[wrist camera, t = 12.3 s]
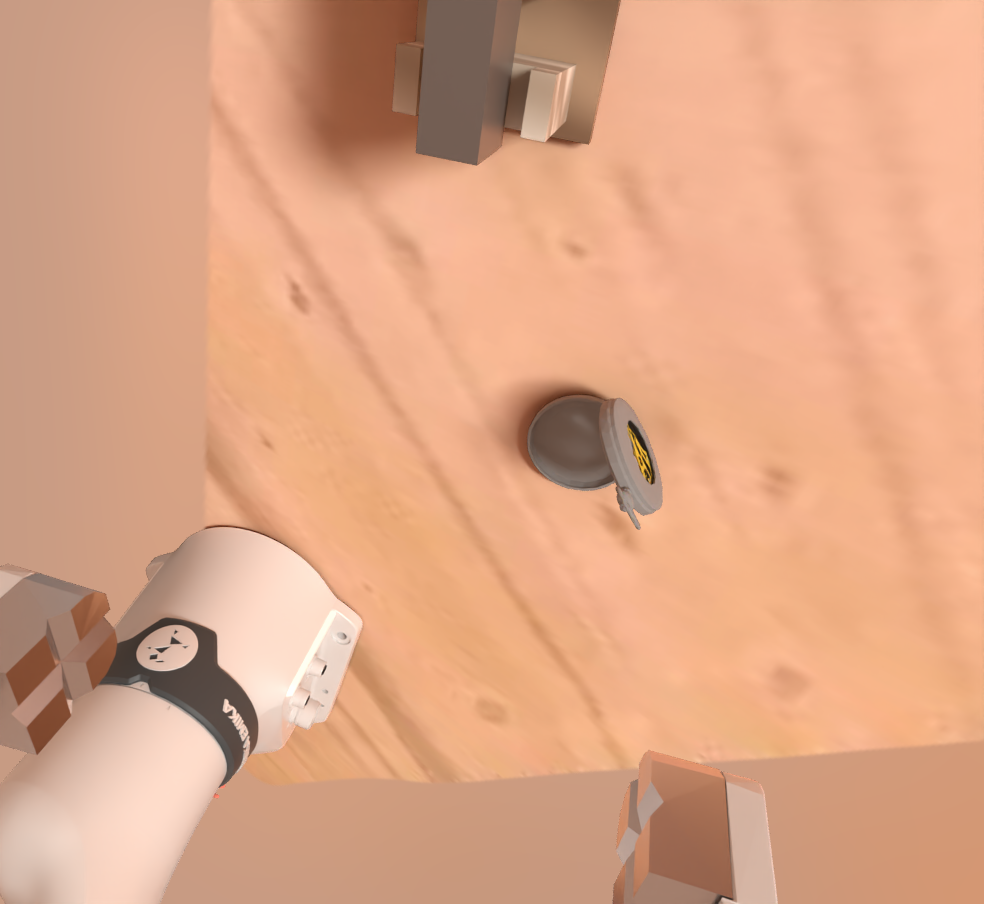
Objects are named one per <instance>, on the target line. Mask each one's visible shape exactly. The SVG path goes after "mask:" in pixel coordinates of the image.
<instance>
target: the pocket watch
mask: <svg viewBox="0 0 984 904" xmlns="http://www.w3.org/2000/svg"><path fill="white" fill-rule="evenodd" d="M527 446H528V452H529V455H530V457H531V459H532V461H533V463H534V465H535V466H536V468H537V469H538V470H539V471H540V473H542V474H543V475H544V476H545V477H546V478H547V479H549V480H550V481H552V482H554V483H555V484H557V485H560V486H562V487H565V488H568V489H574V490H582V491H589V490H597V489H601V488H604V487H607V486H609V485H611V484H613V483H614V482H615V483H616V485H617V487H616V491H617V493H618V494H617V501H618V503H619V505H620V510H621V511H624V512H626V511H627V513H628V515H629V516H630V518H631V520H632V522H633V523H634V525H635V527H636V528H637V529H638V530H640V528H641V527H640V524H639V522H638V520H637V518H636V516H635V514H634V512H633V509H635V510H636V511H637V512H638V513H640V514H641V515H643V516H644V515H648V514H652V513H654V512H655V511H656V510H658V509H660V508H661V506H662V483H661V477H660V473H659V469H658V466H657V462H656V458H655V456H654V453H653V450H652V447H651V444H650V442H649V439H648V436H647V435H646V433H645V431H644V429H643V427H642V425H641V423H640V421H639V419H638V417H637V416H636V414H635V412H634V411H633V409H632V408H631V407H630V406H629V405H628V403H627V402H626V401H624V400H623V399H621V398H617V399H610V400H607V401H605V400H603V399H601V398H597V397H593V396H590V395H570V396H564V397H561V398H558V399H556V400H554V401H552V402H550V403H548V404H547V405H545V406H544V407H543V408H542V409H541V410H540V411H539V412H538V413H537V415H536V416H535V418H534V420H533V422H532V424H531V426H530V427H529V431H528V438H527Z"/></svg>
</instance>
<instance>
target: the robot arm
mask: <svg viewBox="0 0 984 904" xmlns="http://www.w3.org/2000/svg"><path fill="white" fill-rule="evenodd" d="M146 574H147V577H148V579H149V582H148V583H147V585H146V586H145V587H144V588H143V590H142V591H141V592H140V594H139V595H138V596H137V598H136V599H135V600H134V601H133V603H132V604H131V605H130V607H129V608H128V609H127V611H126V612H125V613H124V615H123V616H122V617H121V619H120V620H119V622H118V623H117V624H116V625H115V627H114V628H113V627H112V626H111V625H110V623H109V622H108V621H107V620H106V619H105V618H104V617H103V616H104V615H105V614H106V613H107V612H108V611H109V610H110V607H109V603H108V600H107V597H106V594H105V593H102V592H98V591H95V590H92V589H88V588H85V587H82V586H79V585H76V584H72V583H69V582H66V581H62V580H59V579H56V578H53V577H49V576H46V575H43V574H41V573H38V572H34V571H31V570H27V569H24V568H21V567H17V566H14V565H10V564H6V565H3V566H0V745H3V746H7V747H10V748H13V749H17V750H20V751H24V752H27V754H26V755H25V756H24V757H23V759H22V760H21V761H20V762H19V763H18V764H17V765H16V766H15V768H14V769H13V770H12V771H11V772H10V773H9V775H8V776H7V777H6V778H5V779H4V780H3V781H2V782H1V784H0V895H1V897H2V899H3V901H4V903H5V904H160V903H161V900H162V898H163V895H164V893H165V890H166V888H167V885H168V883H169V881H170V879H171V877H172V875H173V873H174V870H175V868H176V866H177V864H178V862H179V860H180V858H181V856H182V854H183V852H184V850H185V848H186V846H187V844H188V842H189V840H190V838H191V836H192V834H193V832H194V831H195V829H196V827H197V825H198V823H199V821H200V819H201V818H202V816H203V814H204V812H205V810H206V809H207V807H208V805H209V803H210V802H211V800H212V798H213V797H215V798H219V795H217V794H216V791H217V789H218V788H224V787H225V784H226V783H227V782H228V781H229V780H230V779H231V778H232V776H233V775H234V774H235V773H237V772H238V771H239V770H240V769H241V768H242V766H243V765H244V764H245V762H246V760H247V758H248V757H249V756H250V755H251V754H261V753H270V752H274V751H277V750H279V749H281V748H282V747H283V746H284V745H285V744H286V742H287V740H288V739H289V737H290V735H291V733H292V732H293V730H294V728H295V726H296V725H297V726H299V727H301V728H304V729H306V730H307V729H309V730H310V728H311V727H312V725H313V723H320V722H324V721H325V720H326V719H327V717H328V716H329V714H330V713H331V711H332V708H333V706H334V703H335V700H336V698H337V695H338V692H339V689H340V687H341V684H342V681H343V678H344V676H345V673H346V670H347V668H348V665H349V662H350V659H351V657H352V654H353V651H354V648H355V646H356V643H357V640H358V638H359V635H360V632H361V629H362V626H363V623H362V620H361V618H360V617H359V616H358V615H357V614H356V613H355V612H354V611H353V610H352V609H350V608H349V607H348V606H347V605H345V604H344V603H343V602H341V601H340V600H339V599H337V598H336V597H335V596H334V594H333V593H332V592H331V591H330V589H329V588H328V586H327V585H326V584H325V582H324V581H323V579H322V578H321V577H320V575H319V574H318V573H317V572H316V571H315V570H314V569H313V568H312V567H311V566H310V565H309V564H308V563H307V562H306V561H305V560H304V559H303V558H301V557H300V556H299V555H298V554H296V553H295V552H294V551H292V550H291V549H289V548H288V547H286V546H284V545H283V544H281V543H279V542H277V541H275V540H273V539H271V538H269V537H266V536H264V535H261V534H259V533H256V532H252V531H249V530H244V529H239V528H232V527H215V528H209V529H204V530H201V531H199V532H196V533H195V534H193V535H191V536H190V537H188V538H187V539H186V540H185V541H184V542H183V543H182V544H181V546H180V547H179V548H178V549H177V550H176V551H174V552H172V553H168V554H164V555H161V556H158V557H156V558H154V559H153V560H152V561H151V563H150V564H149V565H148V567H147V568H146ZM616 851H617V853H618V855H619V857H620V859H621V861H622V863H623V865H624V866H623V868H622V869H621V871H620V873H619V875H618V877H617V879H616V881H615V883H614V888H613V889H614V890H613V904H778V902H777V894H776V885H775V877H774V869H773V861H772V852H771V844H770V837H769V828H768V820H767V811H766V804H765V796H764V791H763V789H762V787H761V785H760V783H759V782H757V781H755V780H752V779H747V778H744V777H740V776H737V775H733V774H729V773H725V772H722V771H719V769H716V768H712V767H709V766H705V765H701V764H698V763H694V762H690V761H687V760H683V759H679V758H676V757H672V756H668V755H665V754H661V753H657V752H654V751H650V750H648V751H647V752H646V753H644V755H643V757H642V759H641V761H640V763H639V778H638V779H637V780H635V781H632V782H631V783H630V785H629V787H628V790H627V792H626V794H625V797H624V801H623V805H622V809H621V813H620V819H619V825H618V833H617V846H616Z"/></svg>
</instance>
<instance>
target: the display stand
mask: <svg viewBox="0 0 984 904" xmlns="http://www.w3.org/2000/svg"><path fill="white" fill-rule="evenodd" d="M427 1H428V0H418V14H417V27H416V40H415V42H408V43H399V44H396V58H395V74H394V91H393V107H392V111H394V112H399V113H403V114H408V115H413V116H417V115H419V105H420V92H421V79H422V66H423V53H424V40H425V27H426V14H427ZM620 2H621V0H522V5H521V12H520V19H519V26H518V33H517V40H516V47H515V54H514V61H513V68H512V75H511V82H510V90H509V97H508V104H507V111H506V118H505V125H504V127H505V128H510V129H515V130H519V131H521V138H526V139H531V140H536V141H541V142H545V141H546V140H547V139H548V138H549V137H554V138H559V139H564V140H569V141H574V142H579V143H584V144H589V143H590V142H591V138H592V133H593V128H594V124H595V119H596V114H597V110H598V105H599V100H600V96H601V91H602V86H603V82H604V77H605V72H606V67H607V63H608V58H609V53H610V49H611V44H612V39H613V35H614V30H615V25H616V20H617V16H618V11H619V6H620Z"/></svg>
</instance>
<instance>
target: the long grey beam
mask: <svg viewBox="0 0 984 904" xmlns="http://www.w3.org/2000/svg"><path fill="white" fill-rule="evenodd" d="M521 5H522V0H428V1H427V14H426V27H425V40H424V53H423V66H422V79H421V92H420V105H419V117H418V130H417V143H416V153H418V154H423V155H428V156H433V157H438V158H443V159H448V160H452V161H457V162H462V163H467V164H472V165H478V164H480V163H481V162H482V161H484V160H485V159H486V158H487V157H489V156H490V155H491V154H493V153H494V152H495V151H497V150H498V149H499V148H500V147H501V146H502V139H503V132H504V125H505V118H506V111H507V104H508V97H509V90H510V82H511V75H512V68H513V61H514V54H515V47H516V40H517V33H518V26H519V19H520V12H521Z"/></svg>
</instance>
